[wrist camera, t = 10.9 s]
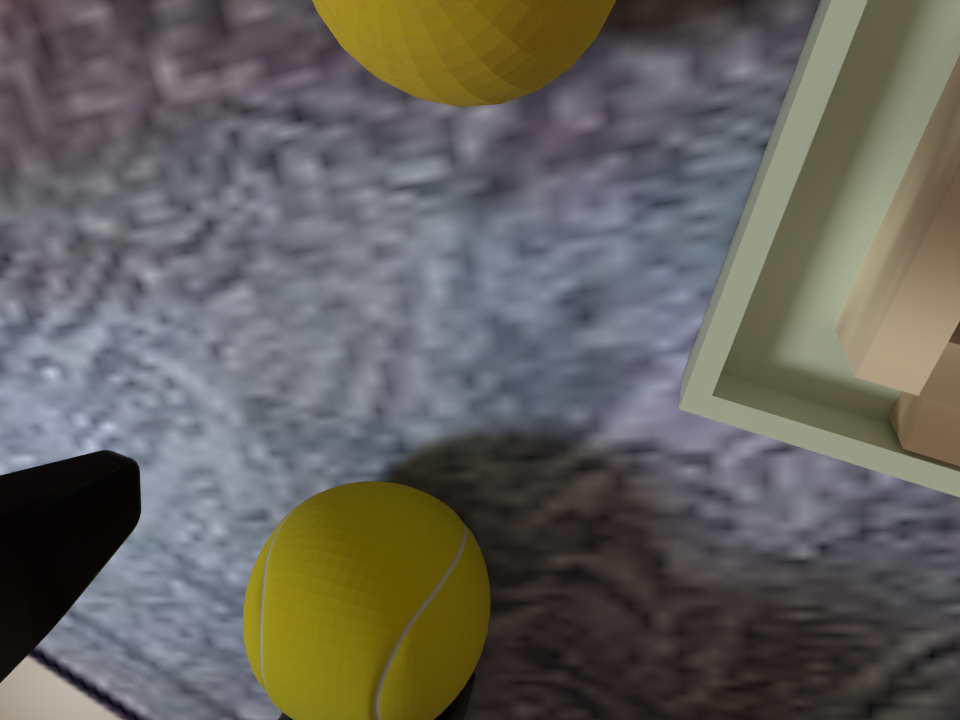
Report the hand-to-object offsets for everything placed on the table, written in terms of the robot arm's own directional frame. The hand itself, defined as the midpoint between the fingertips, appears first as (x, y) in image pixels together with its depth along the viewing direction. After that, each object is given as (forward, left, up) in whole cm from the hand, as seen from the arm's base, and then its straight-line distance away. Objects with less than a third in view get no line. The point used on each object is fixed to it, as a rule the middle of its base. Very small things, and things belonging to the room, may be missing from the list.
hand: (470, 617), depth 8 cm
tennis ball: (-10, +4, -12) cm, 16 cm away
